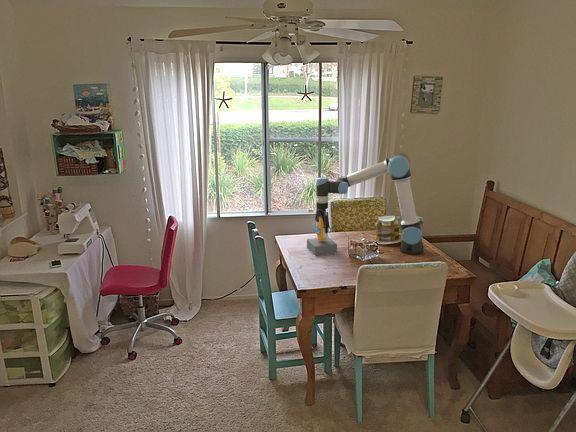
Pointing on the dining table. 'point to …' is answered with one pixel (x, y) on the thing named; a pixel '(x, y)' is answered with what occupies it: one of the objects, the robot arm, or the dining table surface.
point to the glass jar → (387, 230)
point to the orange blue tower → (320, 230)
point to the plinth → (321, 246)
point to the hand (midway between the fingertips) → (321, 234)
